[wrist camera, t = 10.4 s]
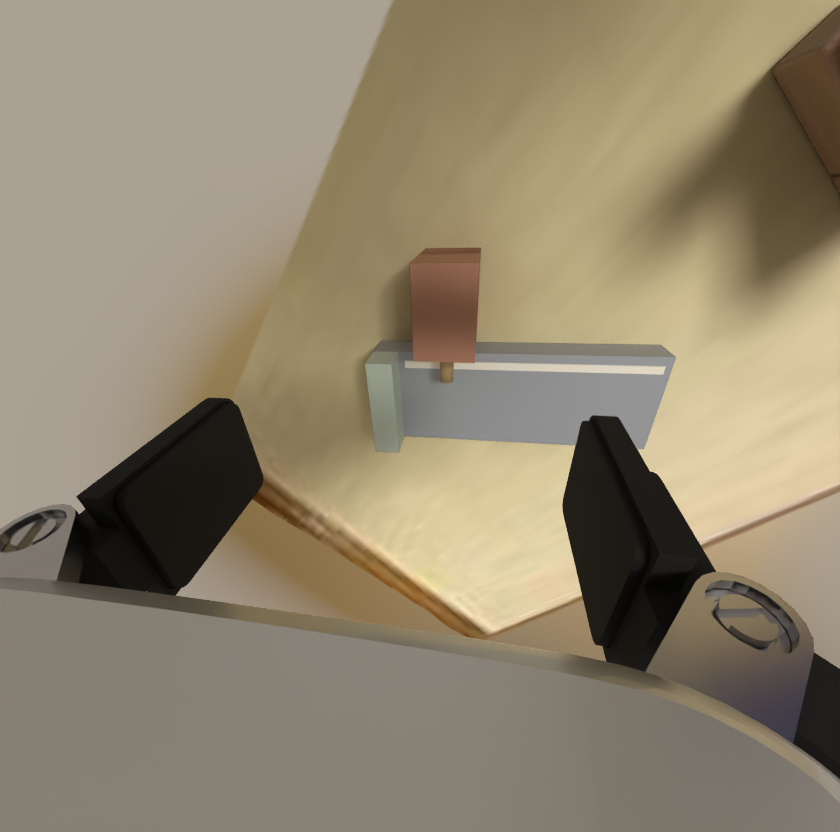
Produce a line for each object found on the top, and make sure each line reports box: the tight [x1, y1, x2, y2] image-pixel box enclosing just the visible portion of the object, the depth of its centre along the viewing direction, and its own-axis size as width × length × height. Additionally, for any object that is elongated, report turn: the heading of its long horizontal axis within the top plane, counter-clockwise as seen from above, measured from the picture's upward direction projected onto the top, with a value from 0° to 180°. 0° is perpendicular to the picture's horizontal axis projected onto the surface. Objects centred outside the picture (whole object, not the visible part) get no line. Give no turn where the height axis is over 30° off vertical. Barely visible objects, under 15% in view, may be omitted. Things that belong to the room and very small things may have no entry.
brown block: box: [409, 248, 481, 383], centre depth 26 cm, size 8×4×7 cm, turn 2°
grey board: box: [365, 341, 676, 453], centre depth 29 cm, size 8×22×5 cm, turn 92°
